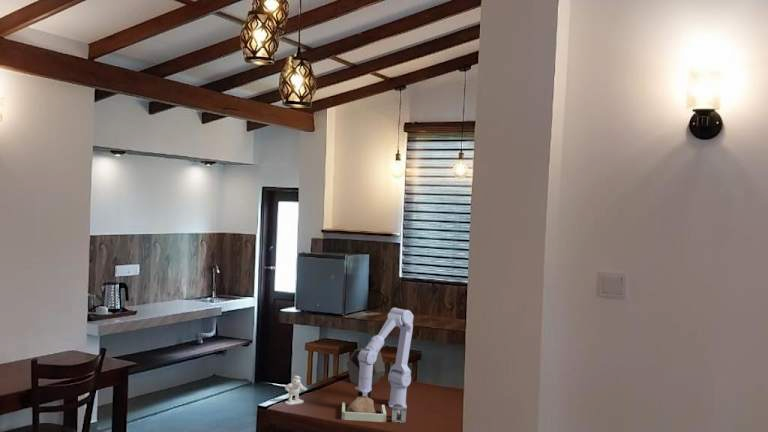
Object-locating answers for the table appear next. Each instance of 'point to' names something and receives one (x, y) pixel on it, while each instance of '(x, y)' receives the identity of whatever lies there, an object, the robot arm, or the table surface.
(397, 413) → the wheel
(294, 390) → the figurine
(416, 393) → the table surface
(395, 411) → the axle mount
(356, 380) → the planter
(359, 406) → the stone
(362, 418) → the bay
